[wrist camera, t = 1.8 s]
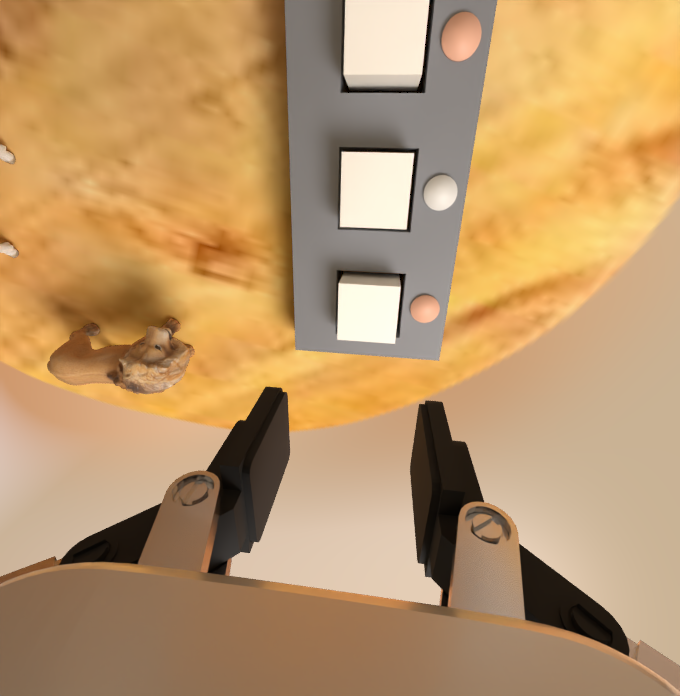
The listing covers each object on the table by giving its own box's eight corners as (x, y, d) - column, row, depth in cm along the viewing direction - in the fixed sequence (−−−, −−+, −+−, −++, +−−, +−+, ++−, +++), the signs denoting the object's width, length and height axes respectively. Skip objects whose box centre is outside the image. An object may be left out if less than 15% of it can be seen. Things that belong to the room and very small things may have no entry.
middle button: (347, 156, 23) (341, 151, 20) (410, 157, 23) (414, 153, 19) (346, 221, 25) (340, 226, 22) (403, 223, 24) (406, 229, 21)
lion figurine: (209, 295, 30) (143, 336, 22) (231, 351, 32) (179, 408, 24) (69, 326, 33) (-35, 372, 25) (97, 375, 35) (10, 433, 27)
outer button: (344, 271, 26) (338, 283, 23) (399, 274, 26) (400, 286, 23) (342, 322, 28) (337, 339, 25) (394, 325, 27) (395, 343, 24)
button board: (296, -29, 21) (281, -63, 18) (491, -35, 20) (509, -73, 17) (303, 334, 30) (294, 350, 28) (434, 344, 29) (439, 361, 26)
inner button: (352, 3, 20) (346, -31, 17) (425, 2, 19) (432, -34, 16) (349, 90, 21) (343, 74, 18) (416, 90, 21) (422, 74, 18)
